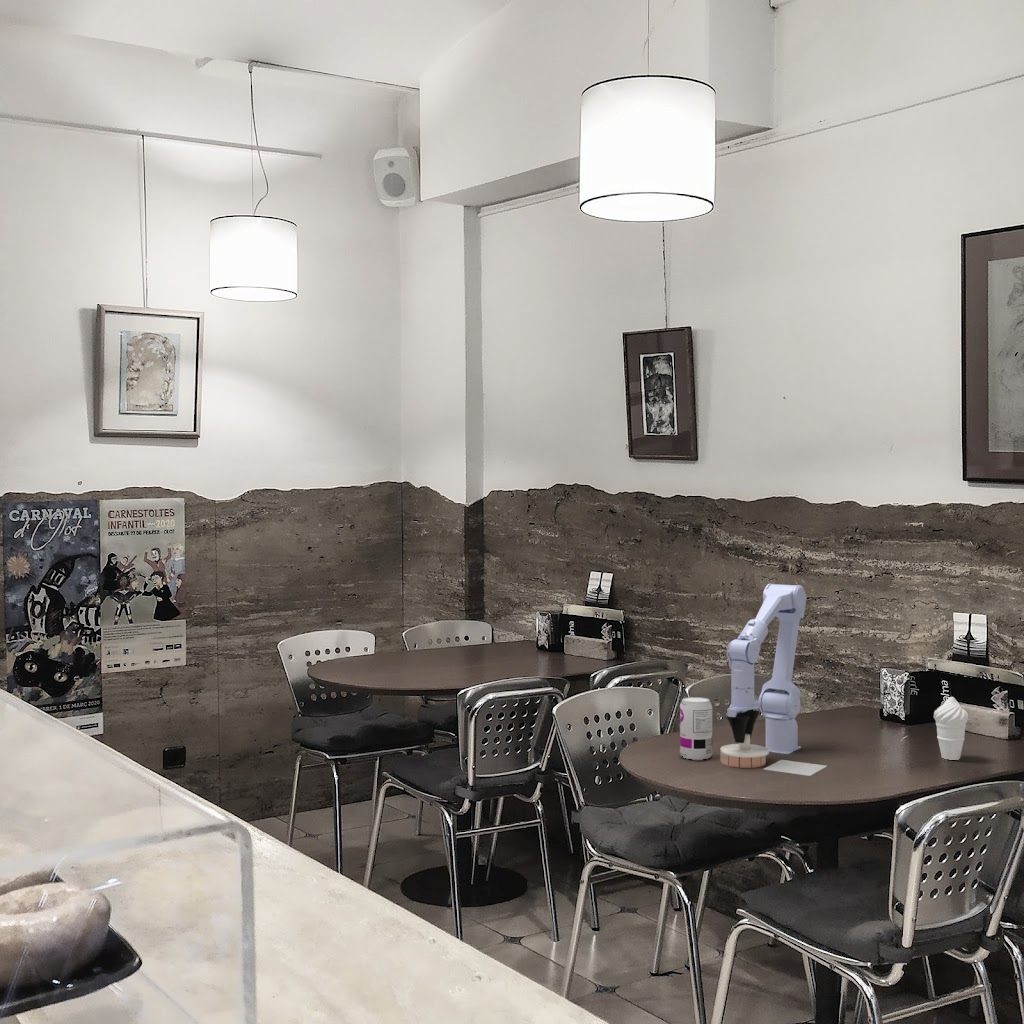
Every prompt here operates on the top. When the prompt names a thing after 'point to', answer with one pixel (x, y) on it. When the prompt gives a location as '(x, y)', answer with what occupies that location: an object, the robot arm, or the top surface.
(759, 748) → the lid
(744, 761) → the bowl
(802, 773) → the mat
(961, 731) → the soft serve ice cream cone
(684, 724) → the supplement can
